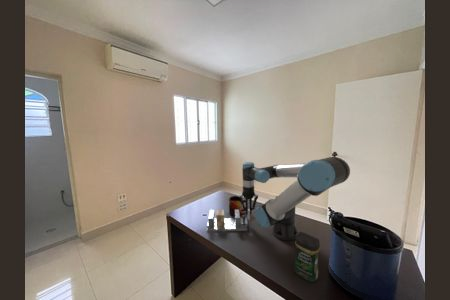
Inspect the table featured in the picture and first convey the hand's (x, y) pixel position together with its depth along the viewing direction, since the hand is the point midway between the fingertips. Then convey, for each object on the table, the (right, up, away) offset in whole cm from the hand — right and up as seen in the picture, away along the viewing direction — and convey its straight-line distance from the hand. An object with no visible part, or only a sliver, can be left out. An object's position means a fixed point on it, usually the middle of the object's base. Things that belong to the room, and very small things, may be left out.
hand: (248, 218), depth 117 cm
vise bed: (-15, -5, +1) cm, 15 cm away
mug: (-6, -2, +18) cm, 19 cm away
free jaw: (-5, -3, 0) cm, 6 cm away
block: (-19, -3, +1) cm, 19 cm away
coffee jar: (+21, -10, -39) cm, 45 cm away
